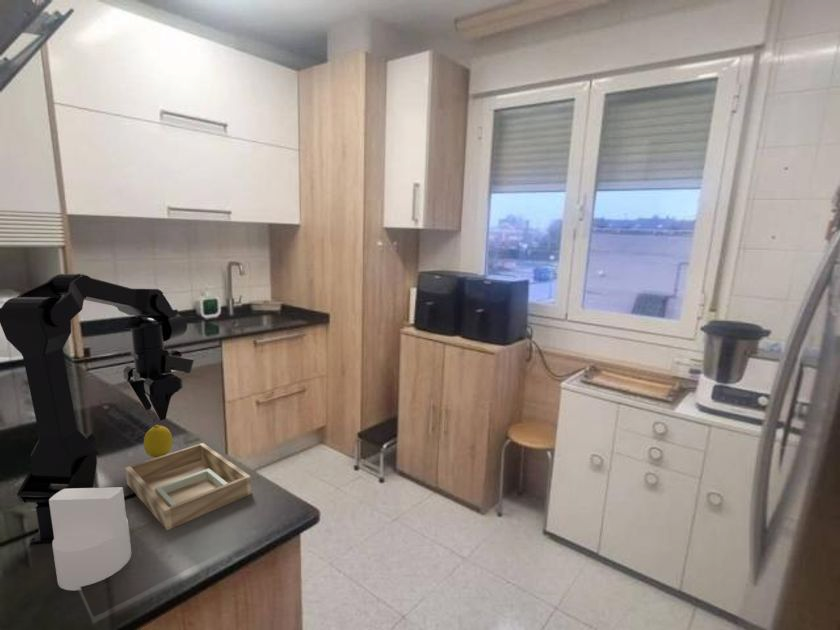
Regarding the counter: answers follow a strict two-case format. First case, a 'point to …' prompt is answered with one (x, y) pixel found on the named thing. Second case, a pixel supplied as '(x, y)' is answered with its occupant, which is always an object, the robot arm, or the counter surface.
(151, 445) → the lemon
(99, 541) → the grey upright block
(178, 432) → the counter surface
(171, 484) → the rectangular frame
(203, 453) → the walled box
